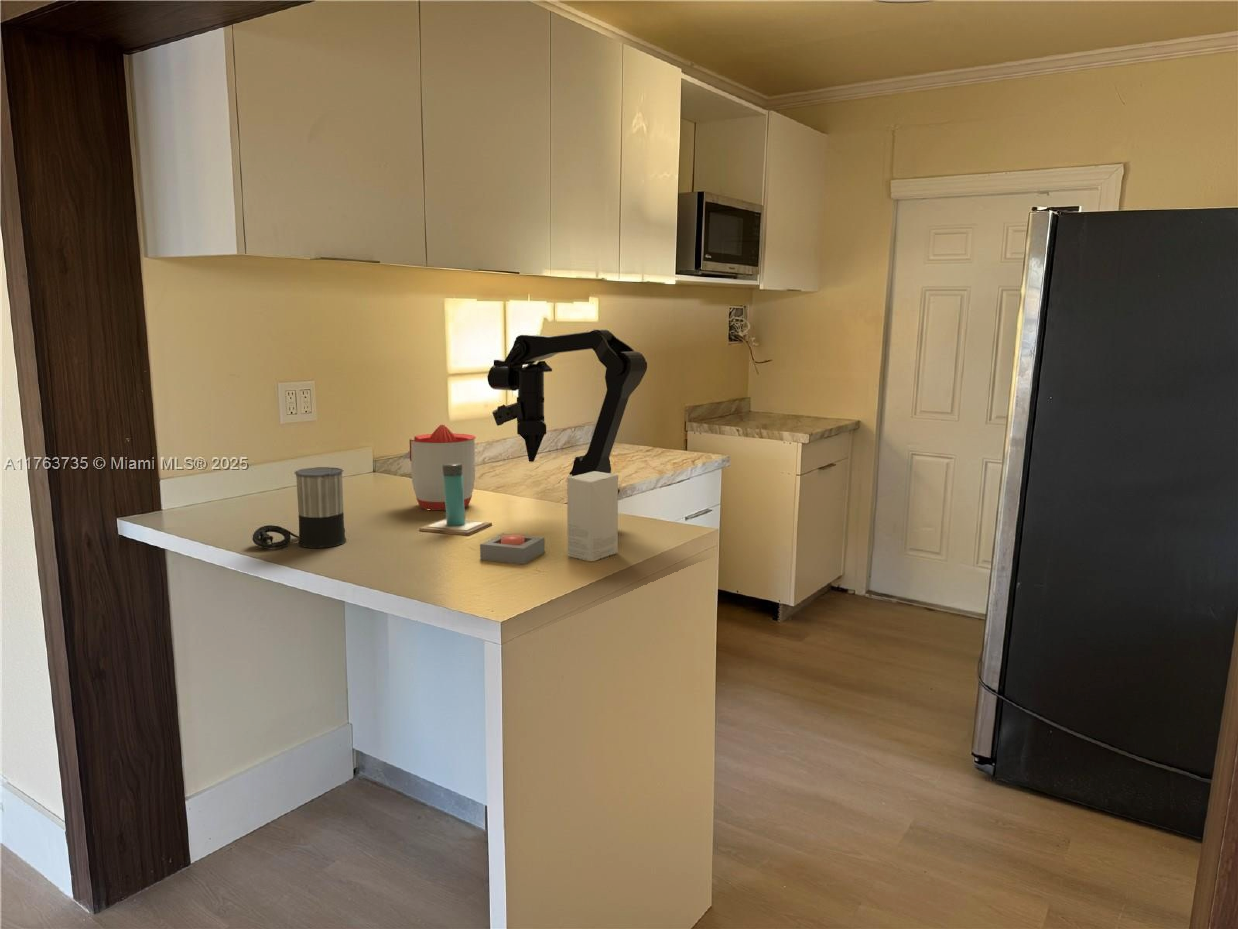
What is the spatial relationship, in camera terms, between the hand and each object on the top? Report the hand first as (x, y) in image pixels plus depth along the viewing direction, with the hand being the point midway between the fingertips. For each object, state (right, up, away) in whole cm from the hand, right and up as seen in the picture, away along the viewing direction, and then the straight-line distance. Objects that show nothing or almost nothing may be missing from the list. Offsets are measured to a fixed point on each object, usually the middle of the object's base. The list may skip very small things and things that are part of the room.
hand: (531, 461), depth 191 cm
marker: (-16, -14, -7) cm, 22 cm away
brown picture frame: (-16, -14, -7) cm, 22 cm away
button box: (0, -18, -29) cm, 34 cm away
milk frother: (-44, -17, -21) cm, 51 cm away
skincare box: (+15, -18, -28) cm, 37 cm away
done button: (0, -17, -29) cm, 34 cm away
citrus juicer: (-23, -11, +15) cm, 30 cm away
